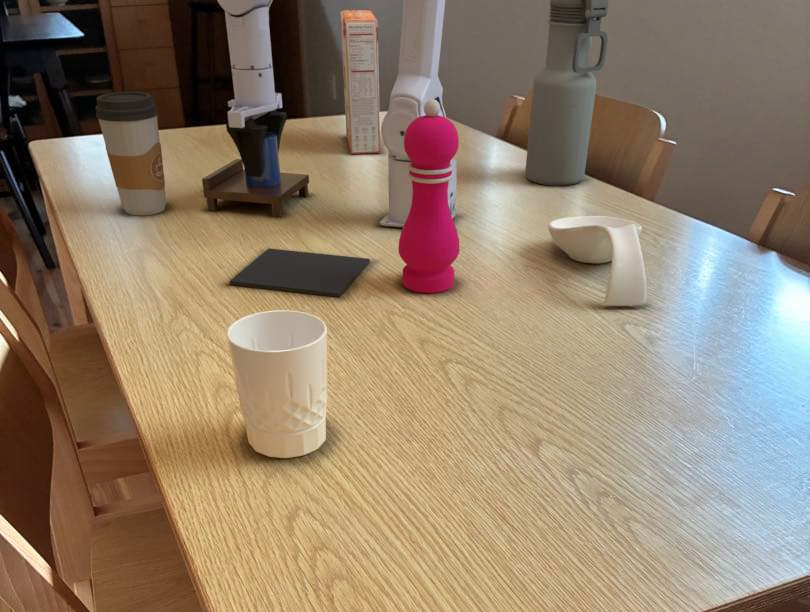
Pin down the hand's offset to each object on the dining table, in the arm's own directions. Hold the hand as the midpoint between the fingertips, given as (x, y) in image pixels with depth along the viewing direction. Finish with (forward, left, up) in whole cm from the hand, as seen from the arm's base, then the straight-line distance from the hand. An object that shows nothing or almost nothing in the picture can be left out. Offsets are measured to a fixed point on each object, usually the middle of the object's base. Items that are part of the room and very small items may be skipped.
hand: (262, 171), depth 120 cm
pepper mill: (-32, +25, -5) cm, 41 cm away
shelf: (+1, 0, -5) cm, 5 cm away
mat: (-16, +26, -5) cm, 31 cm away
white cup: (-29, +63, -5) cm, 70 cm away
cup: (0, 0, -2) cm, 2 cm away
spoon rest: (-52, +15, -5) cm, 54 cm away
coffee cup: (+16, +8, -5) cm, 19 cm away
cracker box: (-3, -39, -5) cm, 39 cm away
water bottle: (-41, -26, -5) cm, 49 cm away
